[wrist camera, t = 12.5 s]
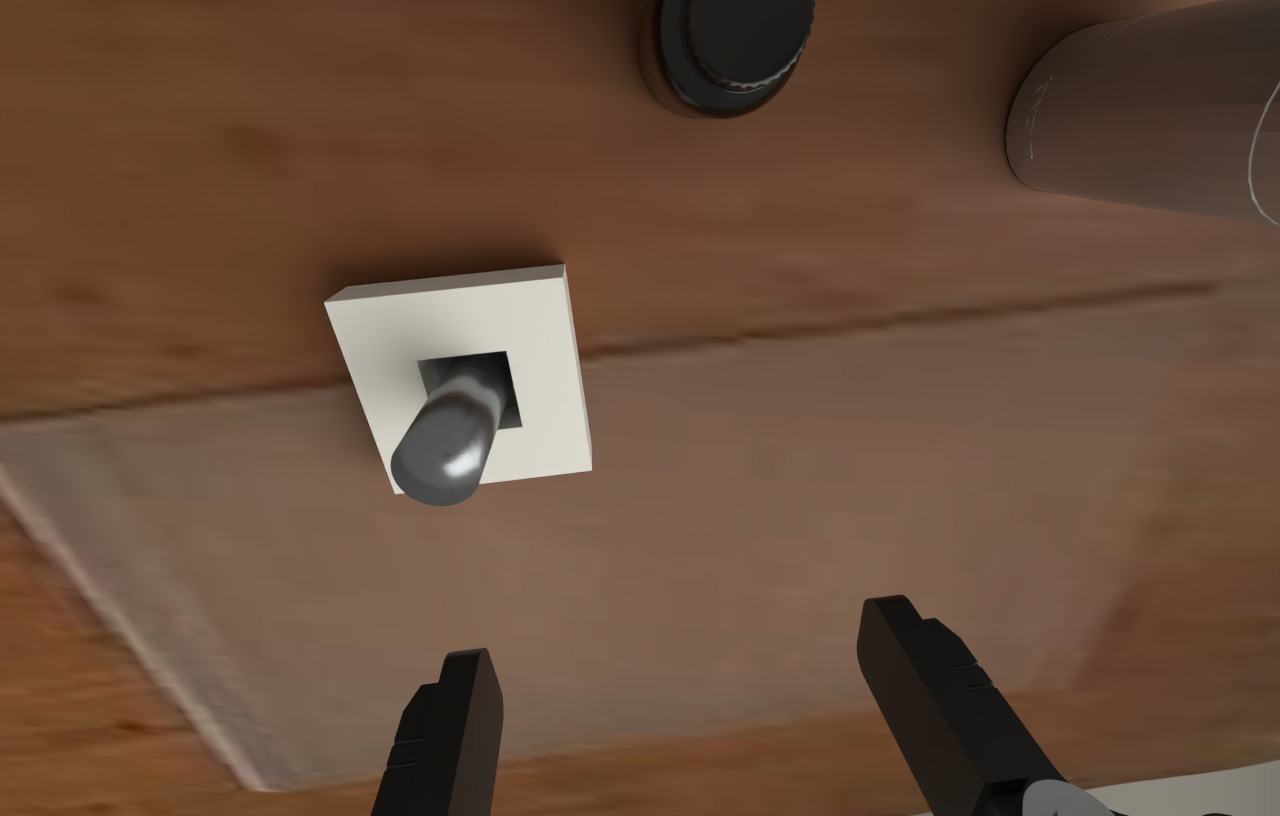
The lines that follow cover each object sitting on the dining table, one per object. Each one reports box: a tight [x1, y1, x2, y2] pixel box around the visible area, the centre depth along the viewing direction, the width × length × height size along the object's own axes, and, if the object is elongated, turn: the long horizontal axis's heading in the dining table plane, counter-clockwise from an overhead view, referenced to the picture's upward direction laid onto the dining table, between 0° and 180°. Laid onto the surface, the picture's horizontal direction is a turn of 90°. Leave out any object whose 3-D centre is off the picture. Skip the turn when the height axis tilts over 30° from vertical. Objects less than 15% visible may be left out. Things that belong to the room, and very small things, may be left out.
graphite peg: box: [390, 351, 513, 506], centre depth 32 cm, size 4×4×12 cm
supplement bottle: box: [638, 0, 815, 119], centre depth 25 cm, size 7×7×12 cm
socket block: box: [324, 264, 592, 494], centre depth 36 cm, size 14×14×4 cm
